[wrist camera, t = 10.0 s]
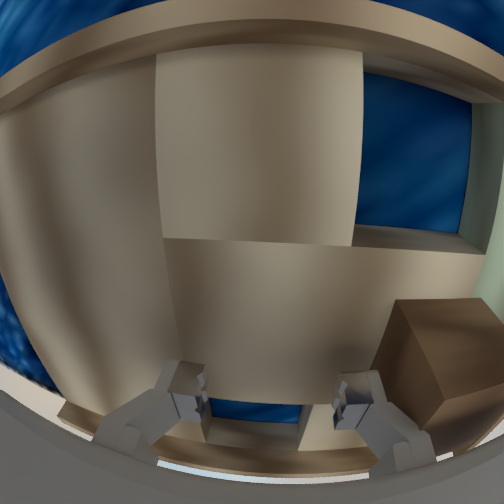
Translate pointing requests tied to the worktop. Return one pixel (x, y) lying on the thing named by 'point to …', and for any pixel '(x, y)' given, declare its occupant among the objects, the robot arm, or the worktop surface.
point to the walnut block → (444, 367)
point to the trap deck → (231, 213)
